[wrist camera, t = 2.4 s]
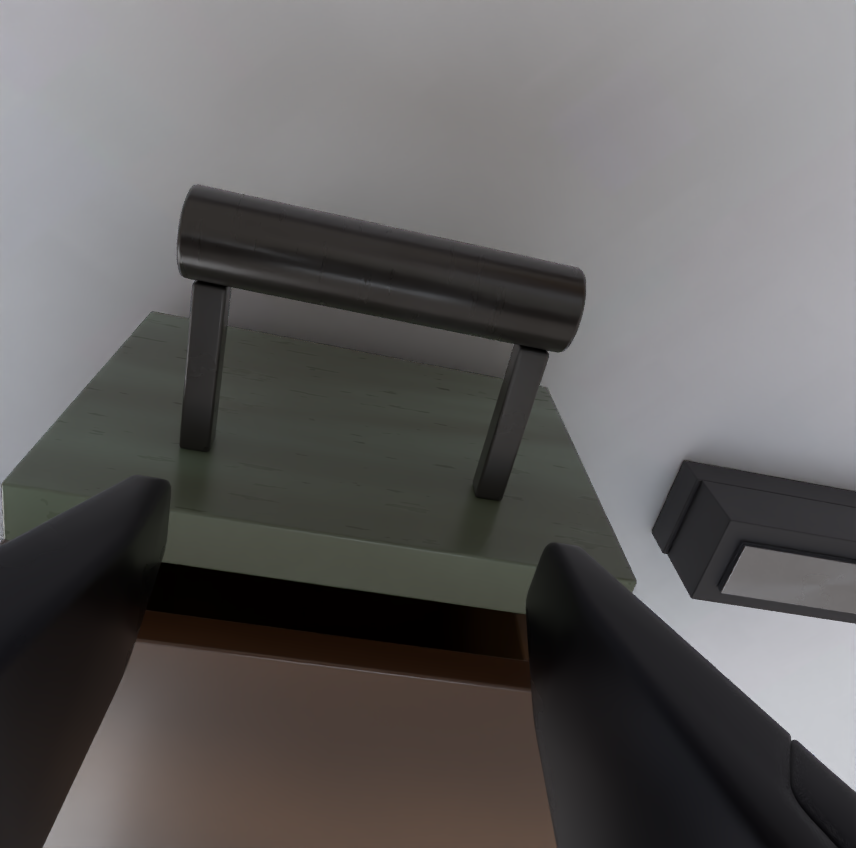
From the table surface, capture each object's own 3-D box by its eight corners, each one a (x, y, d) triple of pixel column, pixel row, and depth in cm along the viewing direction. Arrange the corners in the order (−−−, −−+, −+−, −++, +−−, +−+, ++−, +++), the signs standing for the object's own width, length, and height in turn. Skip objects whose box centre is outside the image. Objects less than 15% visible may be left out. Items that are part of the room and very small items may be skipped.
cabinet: (135, 365, 22) (-59, 615, 12) (539, 438, 23) (641, 705, 14) (118, 708, 28) (-17, 1042, 19) (436, 744, 30) (458, 1065, 20)
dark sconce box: (651, 532, 25) (690, 604, 22) (683, 459, 24) (730, 525, 21) (842, 564, 26) (906, 638, 23) (883, 496, 25) (957, 564, 22)
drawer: (162, 117, 18) (-15, 175, 10) (603, 218, 19) (749, 338, 12) (131, 666, 26) (20, 934, 18) (441, 704, 28) (463, 964, 20)
